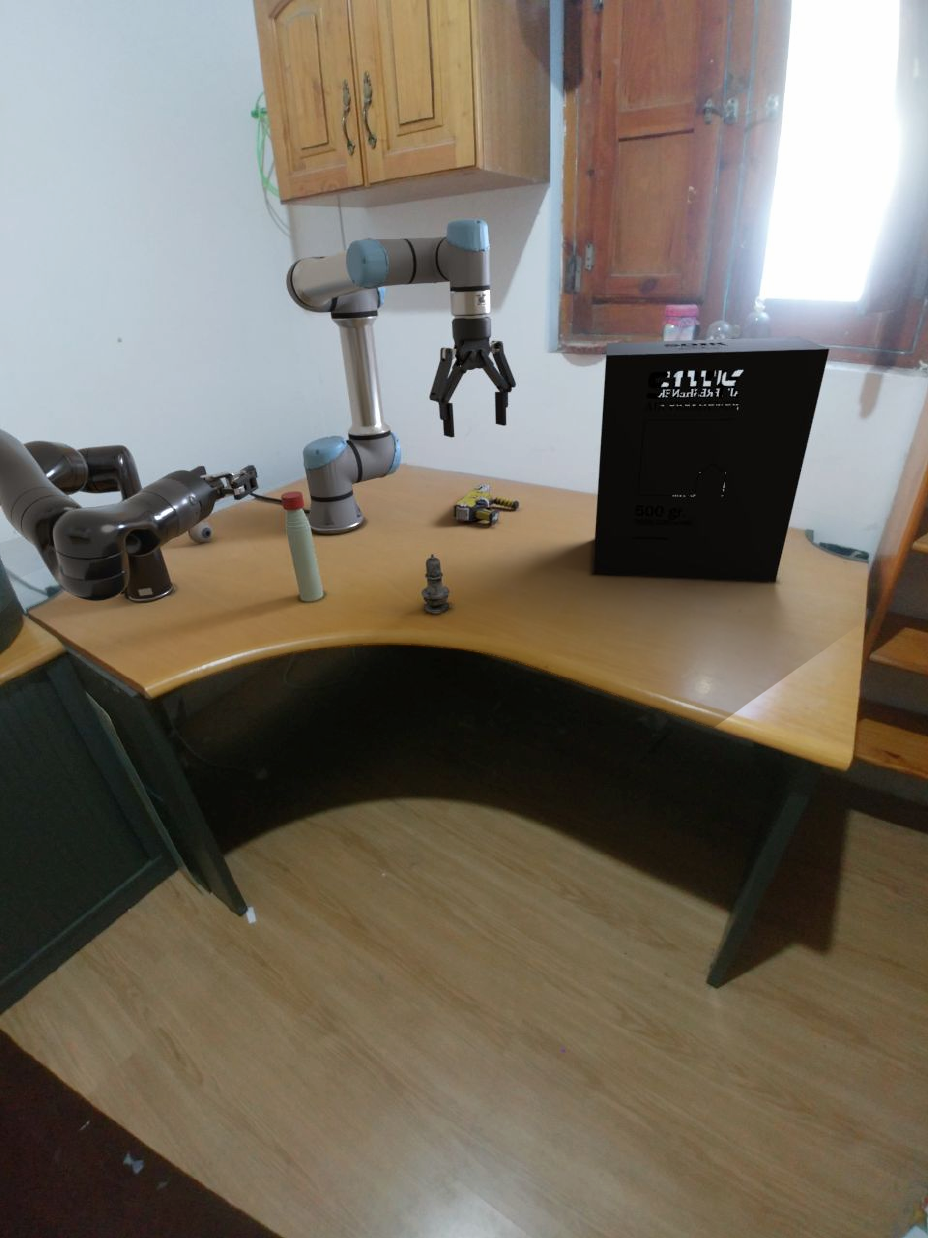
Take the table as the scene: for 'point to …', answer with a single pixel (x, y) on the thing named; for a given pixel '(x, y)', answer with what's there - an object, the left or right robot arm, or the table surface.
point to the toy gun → (480, 505)
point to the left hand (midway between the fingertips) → (228, 471)
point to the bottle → (303, 555)
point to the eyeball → (200, 532)
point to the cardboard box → (703, 455)
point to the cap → (292, 500)
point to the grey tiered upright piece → (435, 588)
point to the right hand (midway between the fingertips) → (475, 430)
